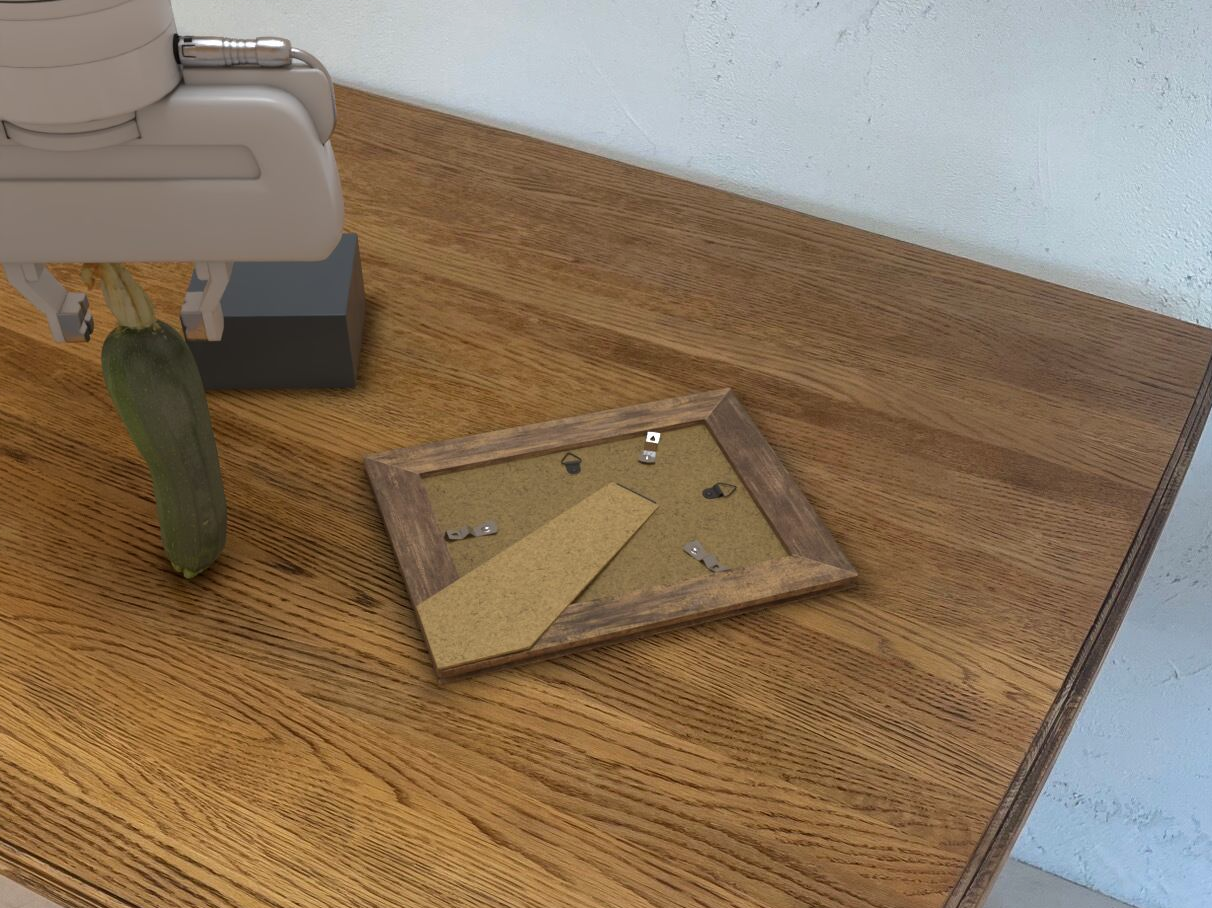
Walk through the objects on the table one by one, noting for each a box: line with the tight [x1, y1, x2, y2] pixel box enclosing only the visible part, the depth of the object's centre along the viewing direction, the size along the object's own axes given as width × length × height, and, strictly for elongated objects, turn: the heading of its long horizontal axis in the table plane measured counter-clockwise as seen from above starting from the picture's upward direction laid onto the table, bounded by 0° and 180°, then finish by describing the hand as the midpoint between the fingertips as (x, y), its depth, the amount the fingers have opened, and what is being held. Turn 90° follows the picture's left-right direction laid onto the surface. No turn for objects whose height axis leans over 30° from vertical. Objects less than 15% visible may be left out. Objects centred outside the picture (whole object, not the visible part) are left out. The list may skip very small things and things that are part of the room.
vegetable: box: [79, 263, 228, 579], centre depth 68 cm, size 4×4×20 cm
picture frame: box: [362, 387, 859, 685], centre depth 78 cm, size 19×2×24 cm
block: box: [179, 232, 367, 391], centre depth 88 cm, size 10×10×6 cm
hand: (141, 335), depth 64 cm, fingers open, 5 cm apart
